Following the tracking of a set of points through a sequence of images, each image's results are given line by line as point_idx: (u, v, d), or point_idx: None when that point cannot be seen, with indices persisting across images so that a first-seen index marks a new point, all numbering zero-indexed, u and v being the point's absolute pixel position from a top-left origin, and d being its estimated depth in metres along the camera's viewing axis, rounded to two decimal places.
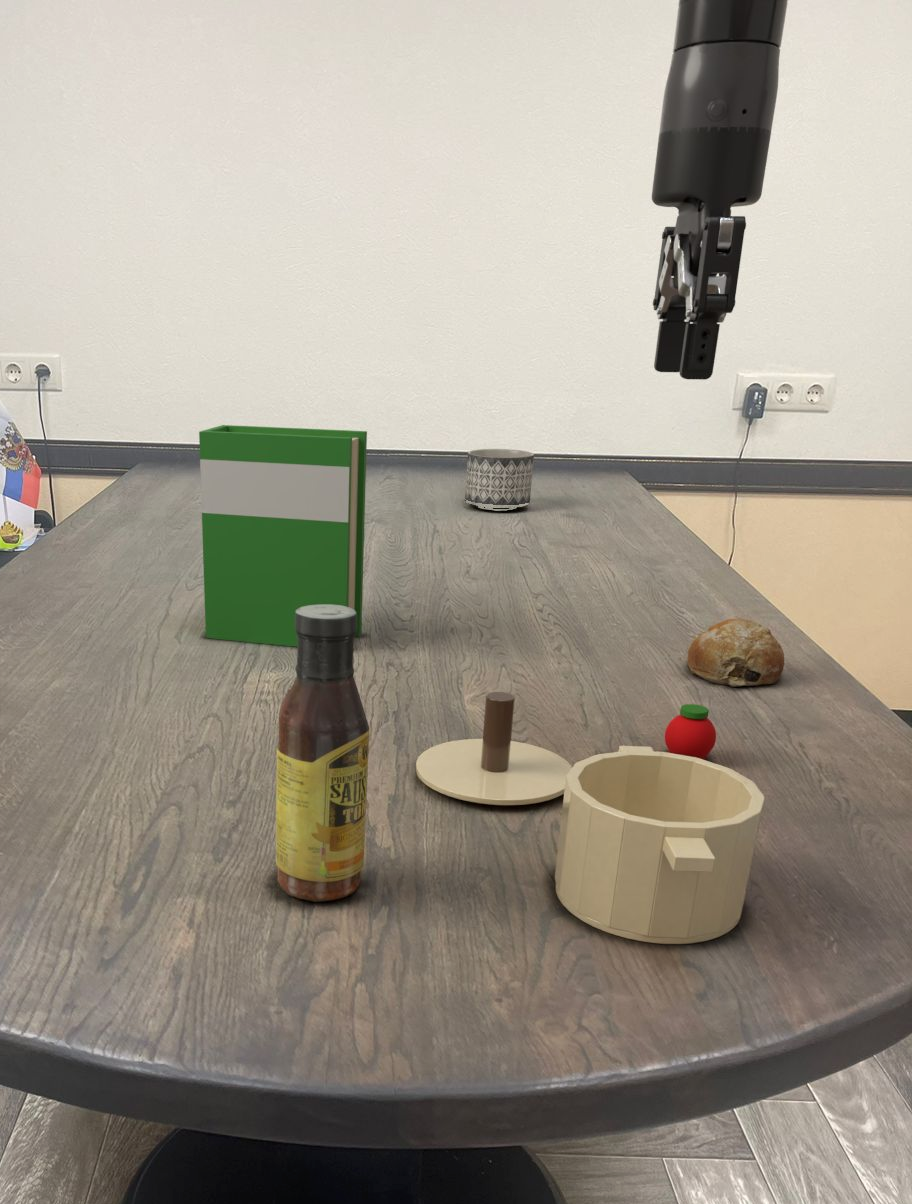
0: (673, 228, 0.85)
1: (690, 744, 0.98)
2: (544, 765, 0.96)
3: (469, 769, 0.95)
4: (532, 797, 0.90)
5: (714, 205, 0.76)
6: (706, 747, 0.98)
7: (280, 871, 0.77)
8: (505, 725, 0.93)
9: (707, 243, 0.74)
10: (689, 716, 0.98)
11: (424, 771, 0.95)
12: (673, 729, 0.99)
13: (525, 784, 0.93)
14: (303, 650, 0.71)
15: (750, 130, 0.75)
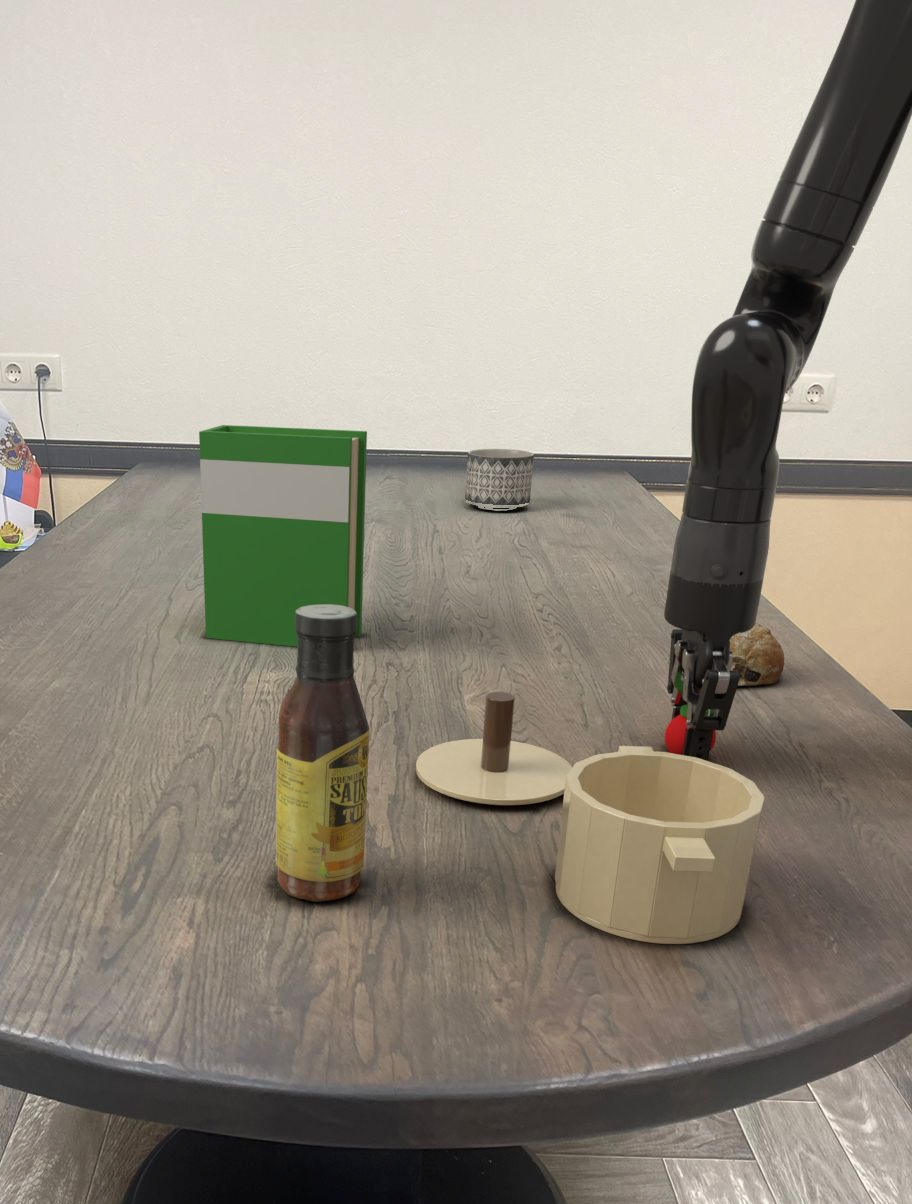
0: (680, 630, 1.02)
1: None
2: (544, 765, 0.96)
3: (469, 769, 0.95)
4: (532, 797, 0.90)
5: (716, 639, 0.92)
6: None
7: (280, 871, 0.77)
8: (505, 725, 0.93)
9: (706, 692, 0.92)
10: None
11: (424, 771, 0.95)
12: (673, 729, 0.99)
13: (525, 784, 0.93)
14: (303, 650, 0.71)
15: (746, 585, 0.91)
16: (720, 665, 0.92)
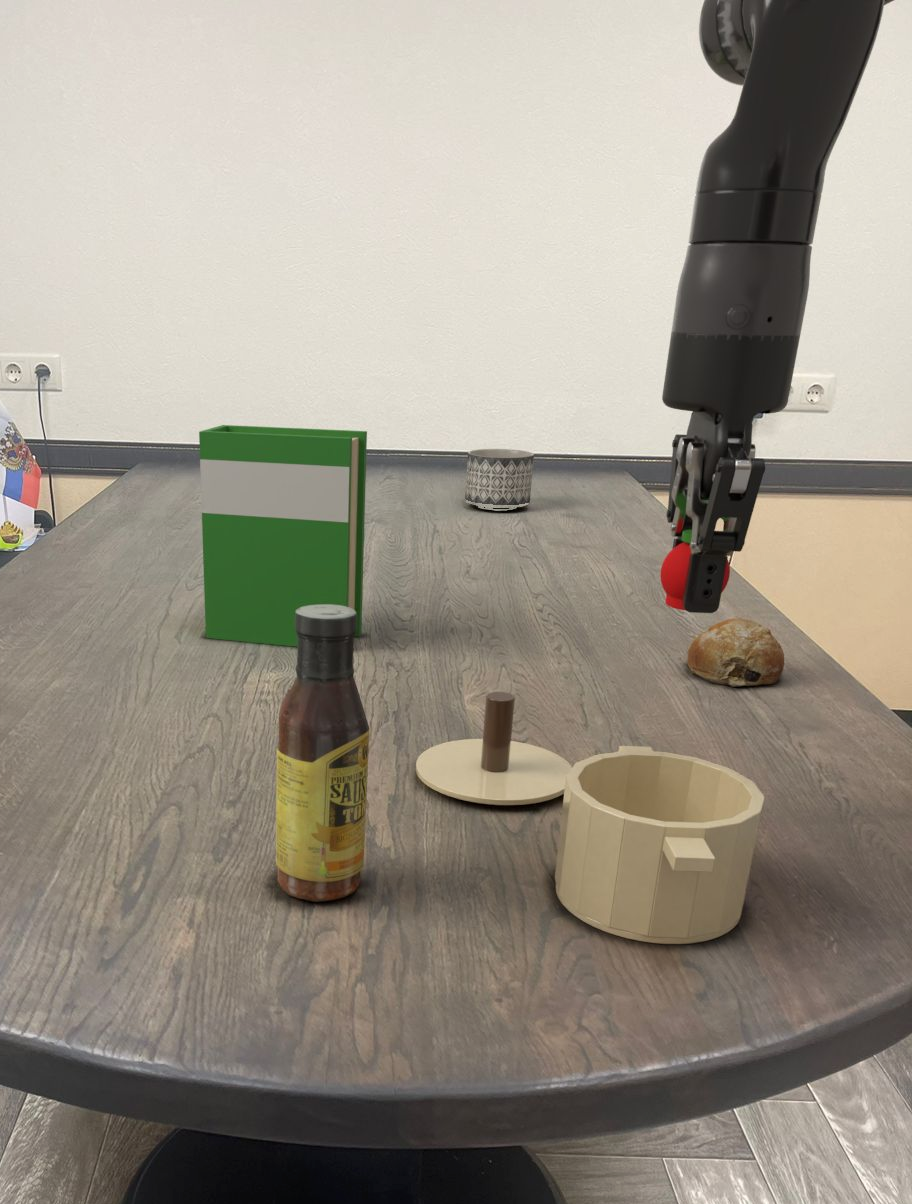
0: (684, 435, 0.76)
1: None
2: (544, 765, 0.96)
3: (469, 769, 0.95)
4: (532, 797, 0.90)
5: (733, 419, 0.67)
6: None
7: (280, 871, 0.77)
8: (505, 725, 0.93)
9: (718, 489, 0.66)
10: None
11: (424, 771, 0.95)
12: (671, 561, 0.73)
13: (525, 784, 0.93)
14: (303, 650, 0.71)
15: (776, 339, 0.65)
16: (738, 453, 0.66)
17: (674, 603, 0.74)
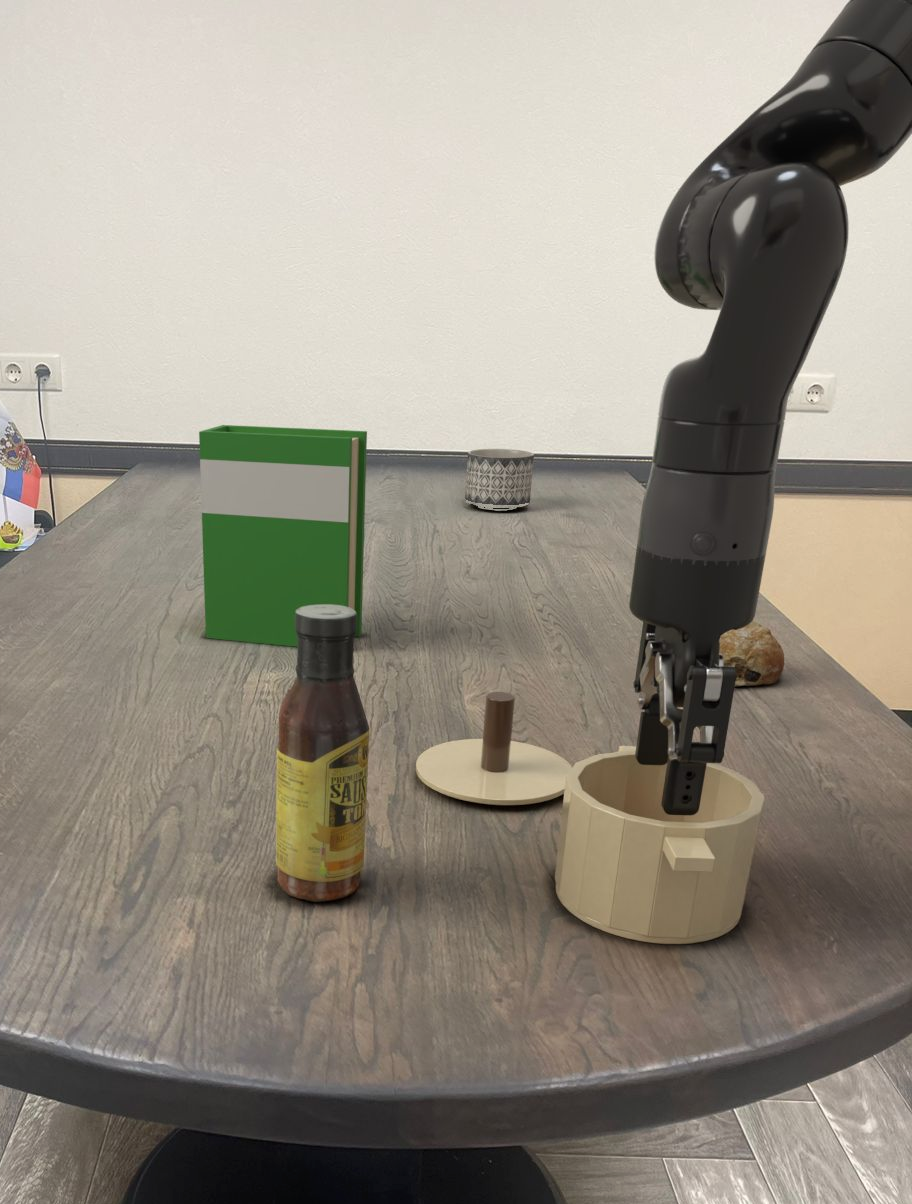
0: None
1: None
2: (544, 765, 0.96)
3: (469, 769, 0.95)
4: (532, 797, 0.90)
5: (701, 639, 0.66)
6: None
7: (280, 871, 0.77)
8: (505, 725, 0.93)
9: (691, 697, 0.64)
10: None
11: (424, 771, 0.95)
12: None
13: (525, 784, 0.93)
14: (303, 650, 0.71)
15: (741, 563, 0.64)
16: (707, 663, 0.65)
17: None
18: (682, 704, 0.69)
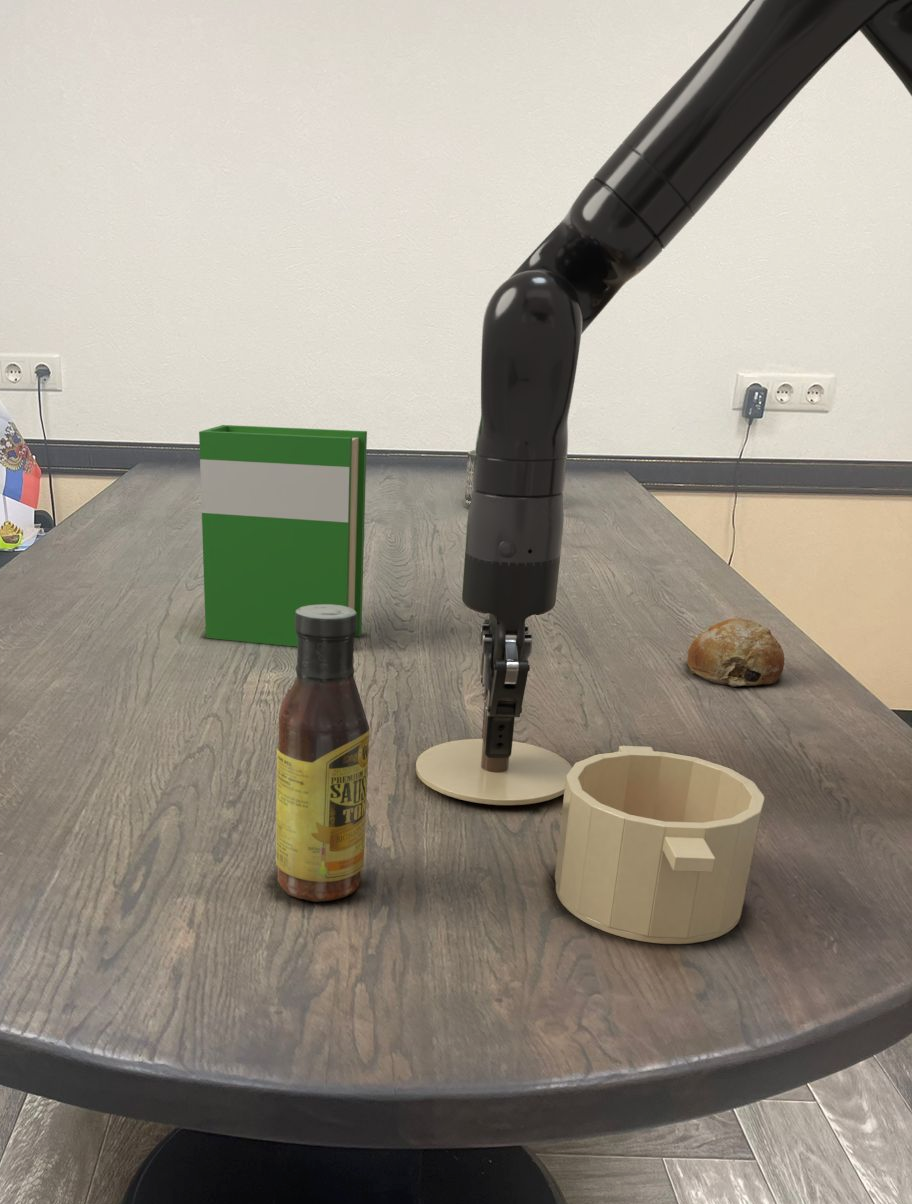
0: None
1: None
2: (544, 765, 0.96)
3: (469, 769, 0.95)
4: (532, 797, 0.90)
5: (509, 622, 0.87)
6: None
7: (280, 871, 0.77)
8: None
9: (496, 682, 0.87)
10: None
11: (424, 771, 0.95)
12: None
13: (525, 784, 0.93)
14: (303, 650, 0.71)
15: (536, 564, 0.85)
16: (511, 653, 0.86)
17: None
18: None
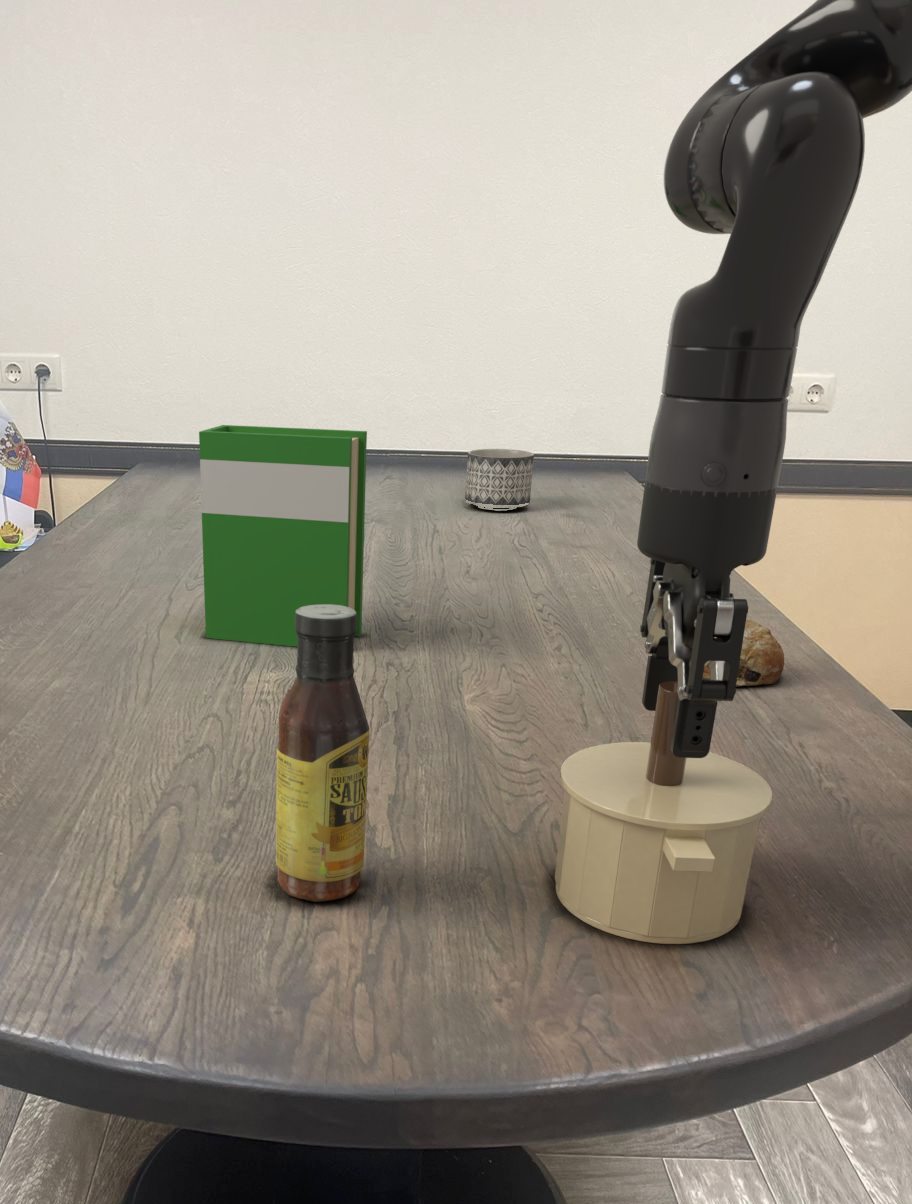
0: None
1: None
2: (728, 776, 0.74)
3: (632, 782, 0.73)
4: (728, 820, 0.68)
5: (711, 574, 0.64)
6: None
7: (280, 871, 0.77)
8: None
9: (702, 630, 0.63)
10: None
11: (575, 784, 0.73)
12: None
13: (713, 802, 0.71)
14: (303, 650, 0.71)
15: (753, 495, 0.63)
16: (718, 597, 0.64)
17: None
18: (691, 644, 0.68)
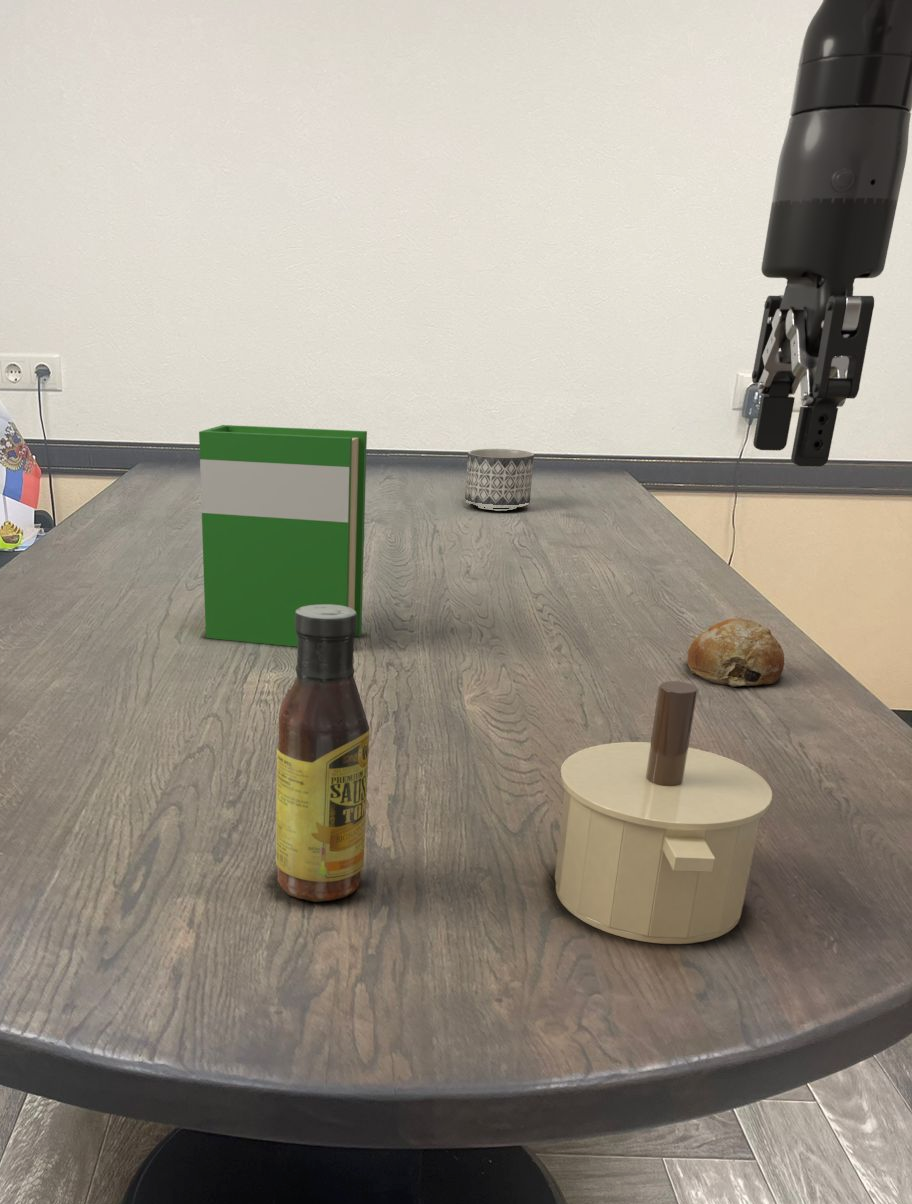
0: (777, 297, 0.79)
1: None
2: (728, 776, 0.74)
3: (632, 782, 0.73)
4: (728, 820, 0.68)
5: (836, 282, 0.70)
6: None
7: (280, 871, 0.77)
8: (685, 725, 0.71)
9: (831, 325, 0.68)
10: None
11: (575, 784, 0.73)
12: None
13: (713, 802, 0.71)
14: (303, 650, 0.71)
15: (878, 202, 0.68)
16: None
17: None
18: None
